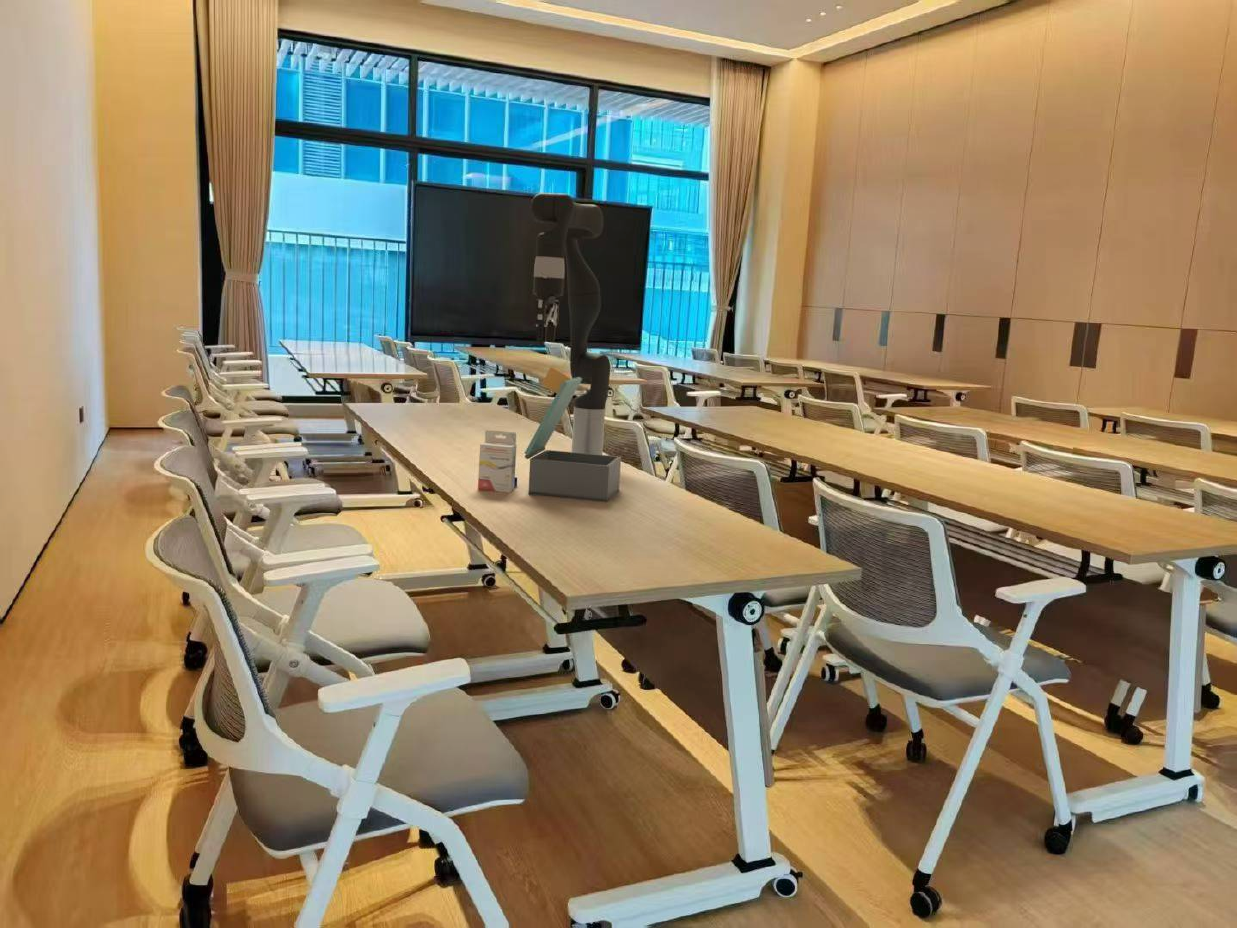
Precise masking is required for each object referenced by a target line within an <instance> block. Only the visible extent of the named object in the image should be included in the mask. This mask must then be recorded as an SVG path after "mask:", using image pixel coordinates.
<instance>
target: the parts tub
mask: <svg viewBox="0 0 1237 928" xmlns="http://www.w3.org/2000/svg"><path fill="white" fill-rule="evenodd" d="M621 464H622V456H618V455H617V456H616V455H607V454H605V455H604V454H602V455H597V454H586V453H576V452H572V451H564V450H563V451H562V450H553V449H545V450H544V451H542V452H540V453H538V454H536V455H534V456H533V457H531V458H529V473H528V474H529V476H528V495H533V496H541V497H550V498H551V497H552V498H560V499H561V498H562V499H572V500H584V501H593V502H603V503H607V502H609V500H611V498H613V497H614V496H615V494H616V493H618V492H619V490H620V479H621Z"/></svg>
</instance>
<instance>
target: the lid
mask: <svg viewBox="0 0 1237 928" xmlns="http://www.w3.org/2000/svg"><path fill="white" fill-rule="evenodd" d="M581 381H582V378H580V377H577V378H573V379H572V377H570V376H569V375H567V374H566V373H563V372H562V371H560V370H559V369H558V368H555V367H554V366H550V367H549V369H548V372H547V374H546V375H545V377H544V379H543V381H542V383H541V385H542V386H544V387H545V388H547V389H548V390H550V391H551V392H554V394H555V393H556V395H554V396H555V397H554V398H553V400H552V402H551V403H550V406H549V408H548V409H547V411H546V413H545V415H544V417H543V419H542V420H541V423H540V424H539V426H538V427H537V429H536V431H535V433H534V435H533V437H532V439H531V440H530V441H529V444H528V446H527V448H526V450H525V451H524V454H525V456H524V458H525V459H526V460H530V459H531V458H533V457H534V456H536V455H538V454H540V453H542V452H544V451H546V446H547V445H548V444H547V443H548V442H549V441H550V439H551V437H552V435H553V433H554V431H555V430H556V428H557V427H558V424H559V423H560V420H561V418H562V416H563V415H564V414H565V412H566V410H567V408H568V406H569V404H570V402H571V400H572V399H573V396H574V395H575V393H576V391H577V389H578V388H579V386H580V384H581V383H580V382H581Z"/></svg>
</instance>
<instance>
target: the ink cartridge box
mask: <svg viewBox="0 0 1237 928" xmlns="http://www.w3.org/2000/svg"><path fill="white" fill-rule="evenodd" d="M500 435H501V436H502V438H501V437H496V436H500ZM484 437H485V438H484V442H482V443H480V444H479V460H478V477H477V478H478V479H477V490H479V491H480V490H481V491H489V492H490V491H491V492H500V493H512V491H514V490H515V487H514V481H515V477H516V463H517V462H516V460H517V458H516V457H517V433H516V432H514V431H513V432H510V431H503V430H502V431H501V430H489V429H487V430H485V432H484ZM504 437H505V438H504Z"/></svg>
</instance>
